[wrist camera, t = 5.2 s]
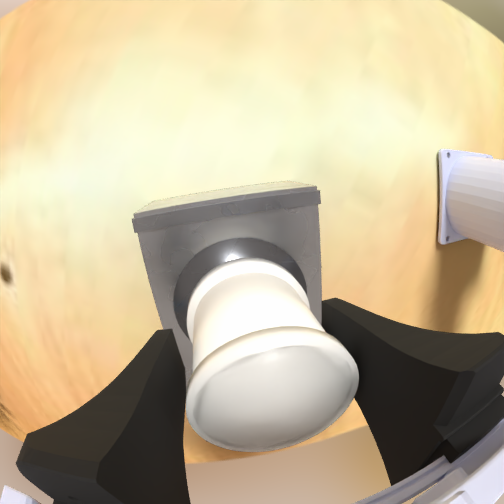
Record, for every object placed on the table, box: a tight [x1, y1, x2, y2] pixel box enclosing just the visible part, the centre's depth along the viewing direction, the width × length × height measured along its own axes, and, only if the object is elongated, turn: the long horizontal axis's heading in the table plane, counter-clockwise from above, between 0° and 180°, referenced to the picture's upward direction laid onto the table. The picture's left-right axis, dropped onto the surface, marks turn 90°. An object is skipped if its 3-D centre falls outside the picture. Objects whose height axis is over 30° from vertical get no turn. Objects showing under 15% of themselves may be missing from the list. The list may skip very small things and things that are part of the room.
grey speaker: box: [132, 181, 322, 391], centre depth 16 cm, size 8×16×5 cm, turn 7°
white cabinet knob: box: [186, 257, 359, 452], centre depth 10 cm, size 6×6×6 cm
